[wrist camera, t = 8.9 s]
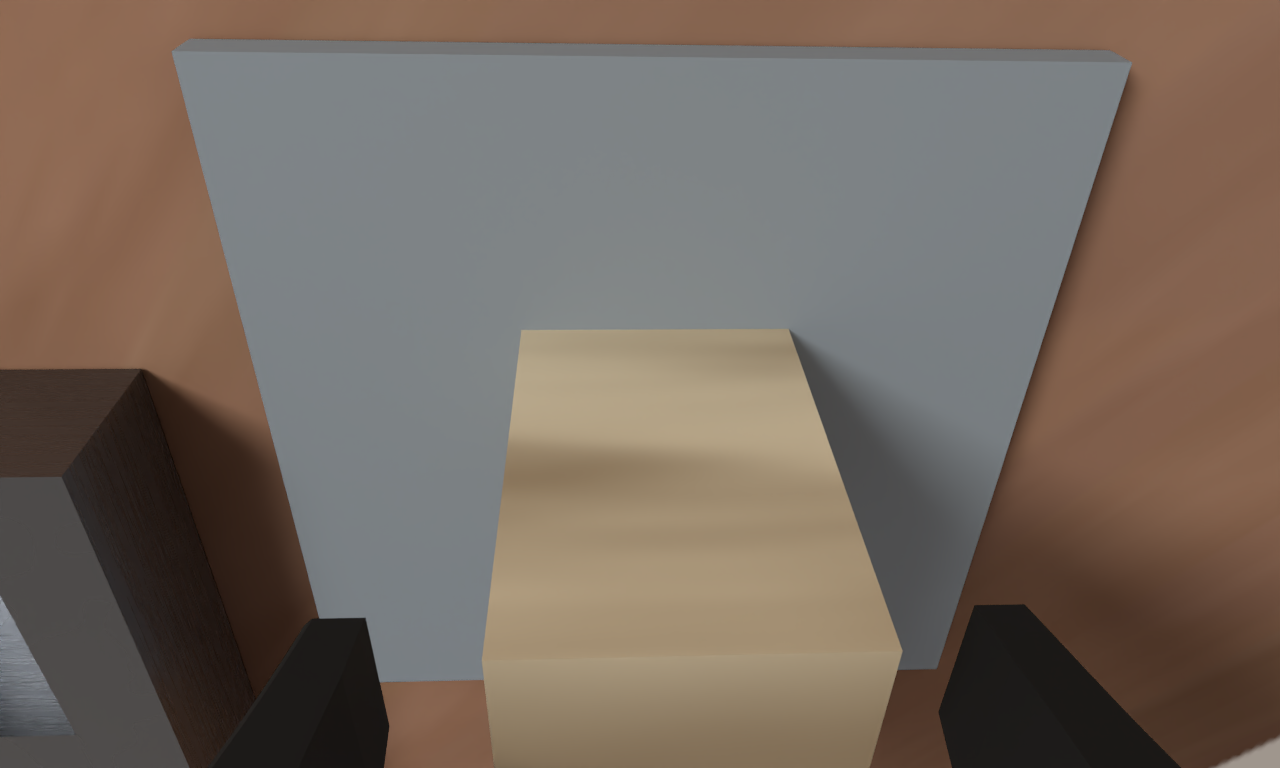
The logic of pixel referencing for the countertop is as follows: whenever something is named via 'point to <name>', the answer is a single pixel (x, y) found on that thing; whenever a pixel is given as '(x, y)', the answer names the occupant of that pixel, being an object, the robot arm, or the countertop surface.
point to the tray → (104, 585)
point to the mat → (633, 275)
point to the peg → (678, 563)
